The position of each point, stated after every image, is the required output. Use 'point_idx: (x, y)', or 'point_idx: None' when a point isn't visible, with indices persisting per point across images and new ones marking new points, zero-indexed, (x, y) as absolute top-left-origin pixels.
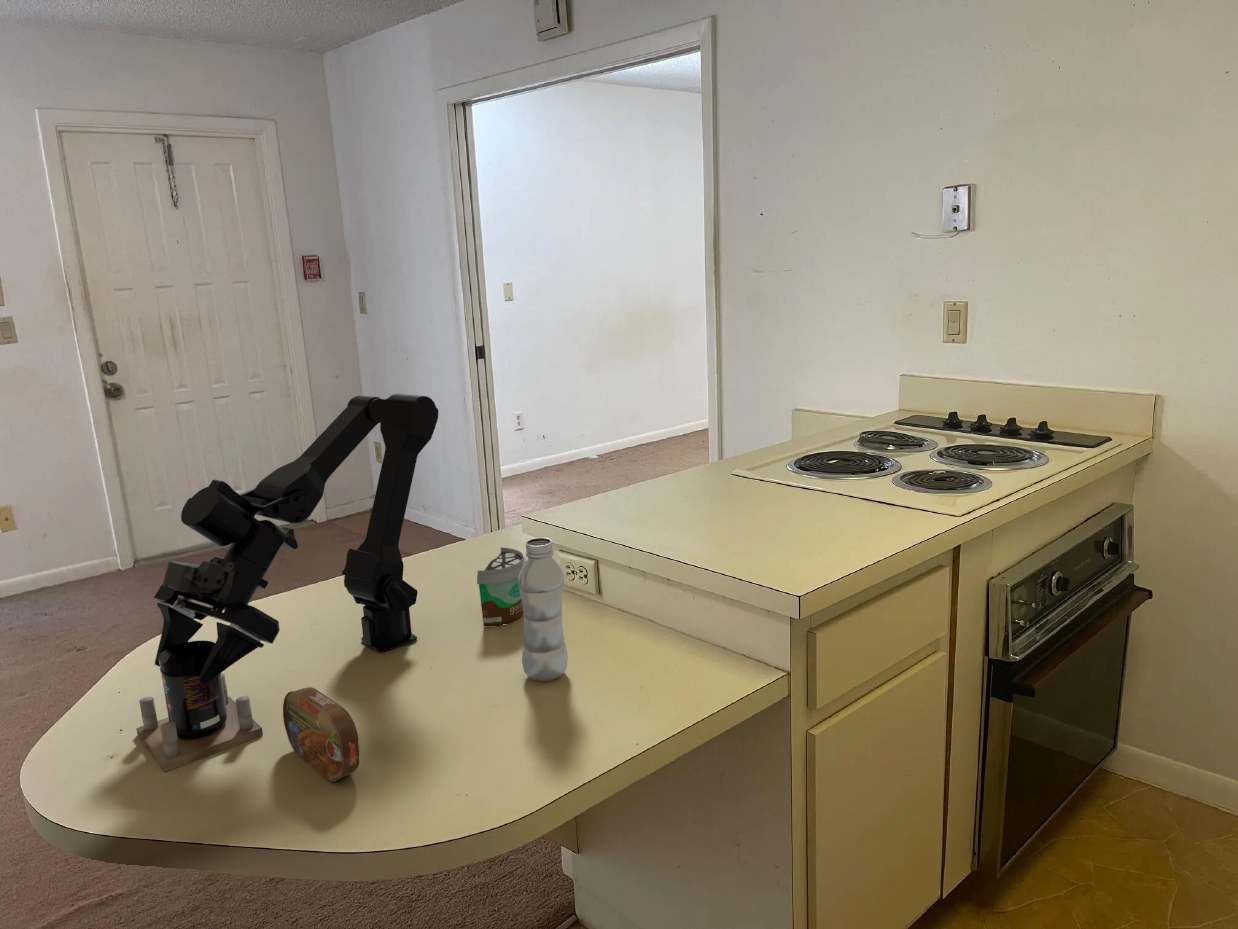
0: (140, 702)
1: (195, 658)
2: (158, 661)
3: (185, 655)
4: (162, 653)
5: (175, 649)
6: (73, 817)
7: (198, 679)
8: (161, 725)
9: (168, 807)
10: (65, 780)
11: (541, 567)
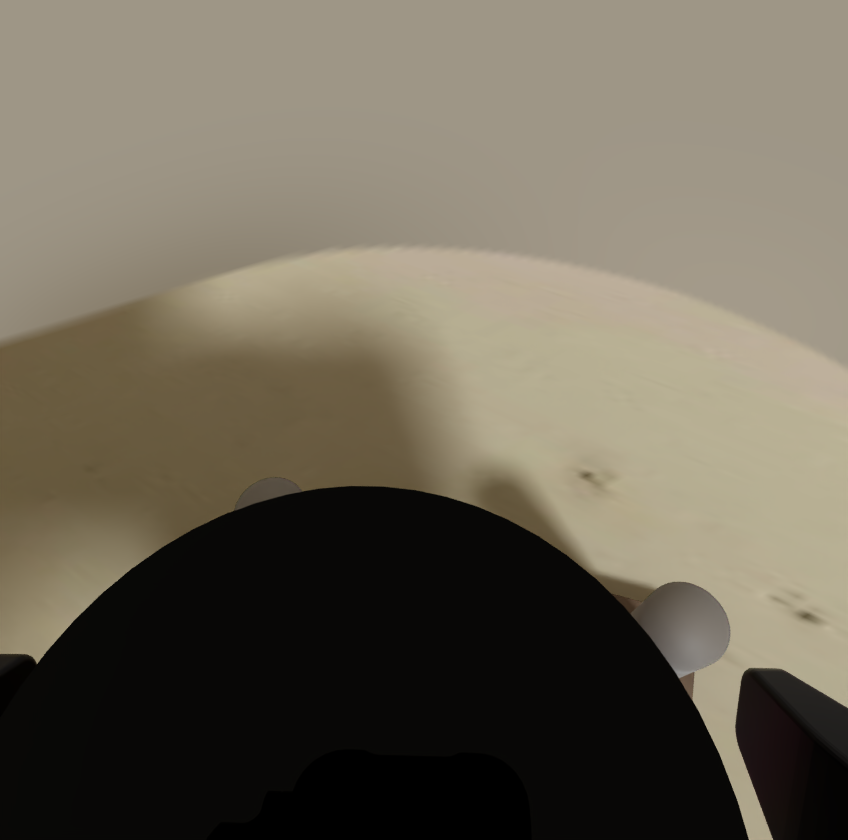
0: (679, 583)
1: (45, 762)
2: (758, 694)
3: (269, 758)
4: (612, 628)
5: (599, 824)
6: (339, 268)
7: (12, 657)
8: (298, 491)
9: (105, 412)
10: (563, 332)
11: None
